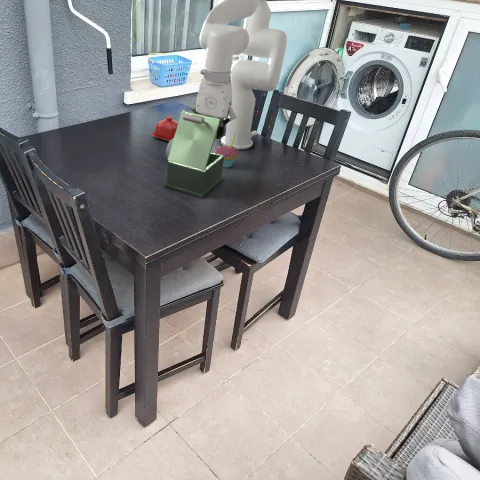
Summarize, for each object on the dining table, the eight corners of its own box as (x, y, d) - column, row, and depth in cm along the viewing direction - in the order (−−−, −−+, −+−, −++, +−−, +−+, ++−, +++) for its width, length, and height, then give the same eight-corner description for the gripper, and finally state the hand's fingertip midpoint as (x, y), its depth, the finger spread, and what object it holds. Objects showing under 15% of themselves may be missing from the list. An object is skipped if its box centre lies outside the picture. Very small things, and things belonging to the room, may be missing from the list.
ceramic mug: (185, 167, 157) (186, 147, 153) (164, 162, 160) (165, 141, 156) (197, 157, 165) (199, 138, 161) (178, 152, 168) (179, 133, 164)
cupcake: (239, 162, 163) (243, 130, 156) (234, 171, 156) (239, 139, 149) (216, 158, 165) (219, 127, 158) (210, 167, 158) (214, 135, 151)
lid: (182, 111, 137) (175, 106, 132) (220, 119, 132) (214, 114, 127) (168, 160, 140) (160, 157, 134) (205, 170, 134) (198, 168, 129)
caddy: (187, 170, 155) (189, 146, 150) (221, 180, 150) (224, 155, 145) (166, 186, 145) (167, 161, 140) (201, 197, 139) (204, 171, 134)
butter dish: (187, 136, 182) (189, 115, 177) (173, 144, 174) (174, 123, 169) (163, 129, 187) (164, 109, 182) (148, 138, 179) (149, 117, 174)
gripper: (185, 74, 130) (181, 133, 141) (239, 84, 124) (231, 145, 134) (196, 69, 136) (192, 126, 146) (249, 78, 129) (240, 138, 139)
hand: (210, 135), depth 140 cm, fingers closed on block, 5 cm apart
